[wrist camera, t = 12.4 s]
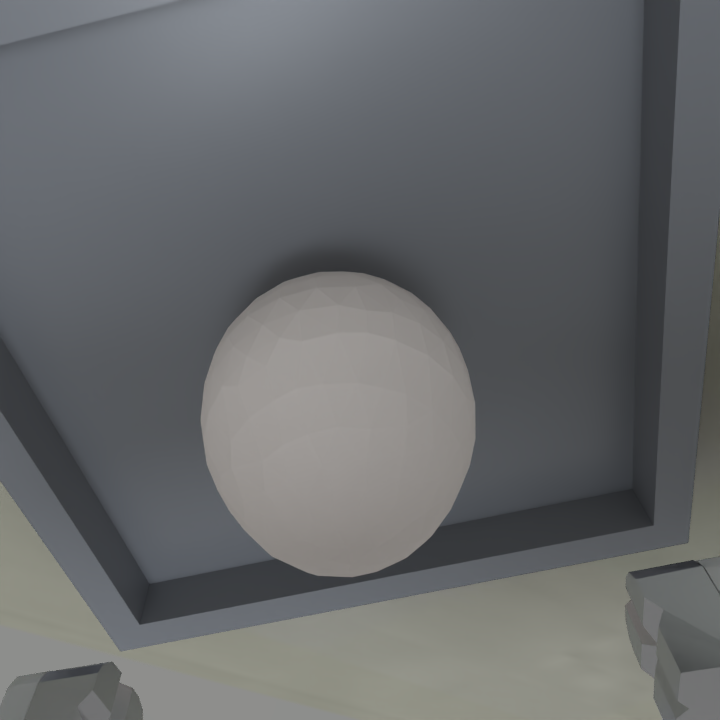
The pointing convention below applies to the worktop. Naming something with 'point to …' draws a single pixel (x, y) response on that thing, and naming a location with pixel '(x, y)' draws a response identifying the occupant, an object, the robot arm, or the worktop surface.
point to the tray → (352, 270)
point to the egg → (338, 422)
